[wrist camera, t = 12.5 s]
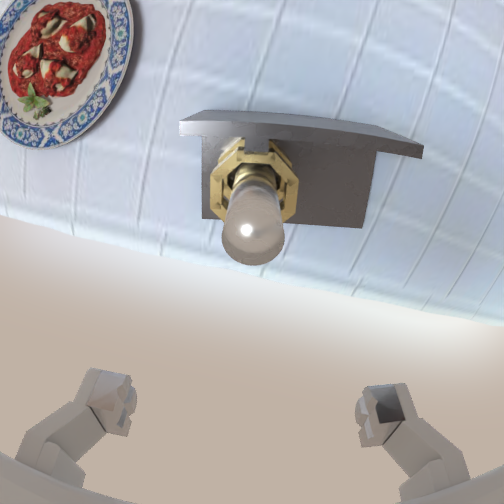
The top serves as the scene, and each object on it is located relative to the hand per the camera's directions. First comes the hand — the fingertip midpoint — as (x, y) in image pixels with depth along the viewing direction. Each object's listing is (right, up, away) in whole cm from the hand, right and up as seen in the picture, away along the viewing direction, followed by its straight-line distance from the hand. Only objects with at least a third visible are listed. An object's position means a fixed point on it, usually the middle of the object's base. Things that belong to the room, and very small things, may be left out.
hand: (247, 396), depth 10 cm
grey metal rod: (0, +14, +25) cm, 29 cm away
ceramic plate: (-26, +30, +18) cm, 44 cm away
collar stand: (+4, +15, +26) cm, 30 cm away
